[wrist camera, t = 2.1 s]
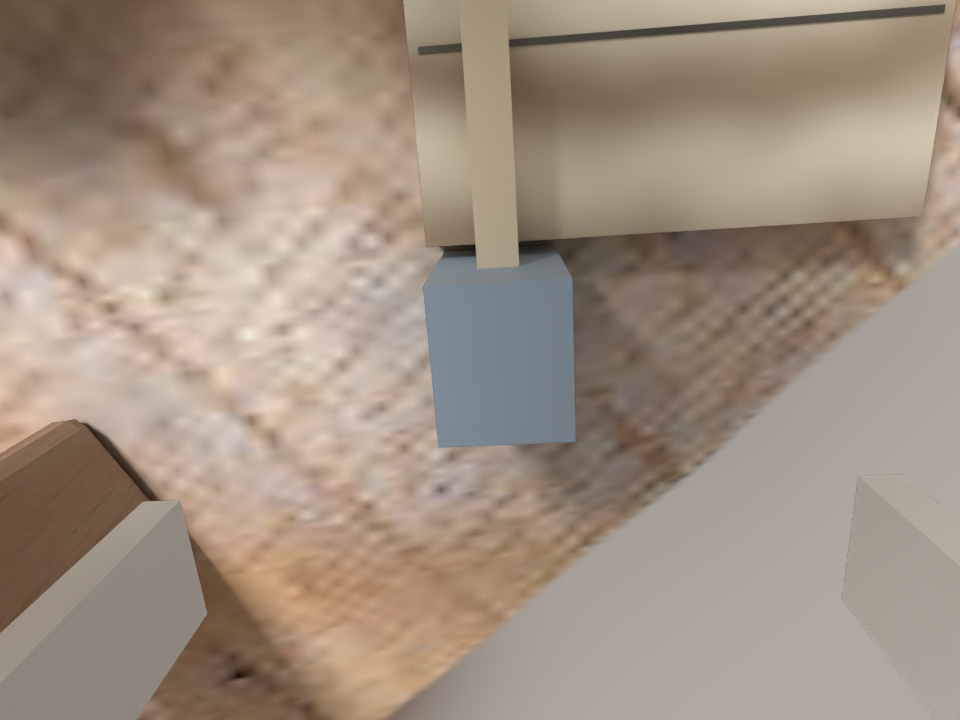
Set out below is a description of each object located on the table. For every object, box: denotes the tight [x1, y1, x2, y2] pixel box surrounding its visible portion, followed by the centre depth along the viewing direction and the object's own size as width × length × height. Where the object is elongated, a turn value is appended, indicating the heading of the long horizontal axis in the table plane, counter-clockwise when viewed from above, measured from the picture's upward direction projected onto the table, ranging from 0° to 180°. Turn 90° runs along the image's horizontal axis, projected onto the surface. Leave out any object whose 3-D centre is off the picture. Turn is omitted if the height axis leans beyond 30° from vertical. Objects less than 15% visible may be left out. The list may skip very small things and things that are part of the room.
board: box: [403, 0, 956, 247], centre depth 24 cm, size 12×20×3 cm, turn 94°
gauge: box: [423, 0, 576, 448], centre depth 24 cm, size 15×5×8 cm, turn 4°
